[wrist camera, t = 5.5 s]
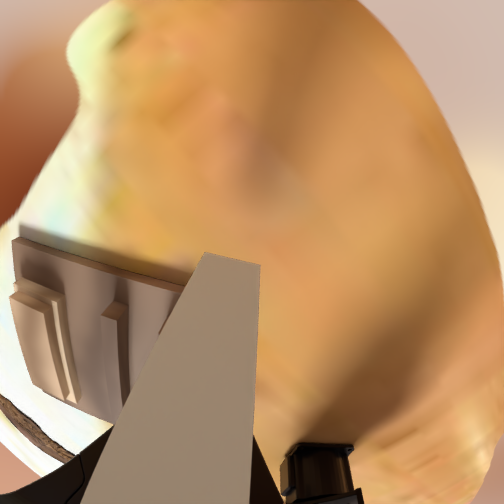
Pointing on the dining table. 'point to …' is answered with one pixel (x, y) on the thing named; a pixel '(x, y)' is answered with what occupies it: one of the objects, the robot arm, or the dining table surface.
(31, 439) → the wooden fragment
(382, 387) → the dining table surface
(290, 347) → the dining table surface
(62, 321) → the lower oak offcut
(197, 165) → the dining table surface
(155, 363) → the taupe rectangular block
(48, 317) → the upper oak offcut
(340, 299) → the dining table surface
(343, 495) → the robot arm
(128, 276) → the walnut rack
